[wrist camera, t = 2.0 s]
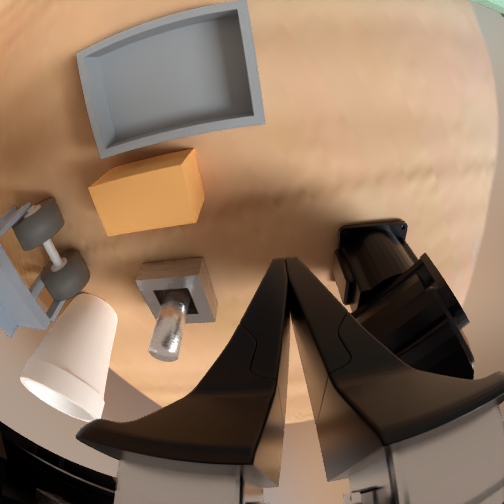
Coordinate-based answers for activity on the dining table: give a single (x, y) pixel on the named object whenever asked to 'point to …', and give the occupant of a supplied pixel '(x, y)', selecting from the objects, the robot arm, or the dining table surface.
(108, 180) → the block
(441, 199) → the dining table surface
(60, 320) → the foam cup
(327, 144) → the dining table surface
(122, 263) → the dining table surface
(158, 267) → the pin bracket
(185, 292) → the pin
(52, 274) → the grey wheeled cart
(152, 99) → the tray
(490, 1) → the container
